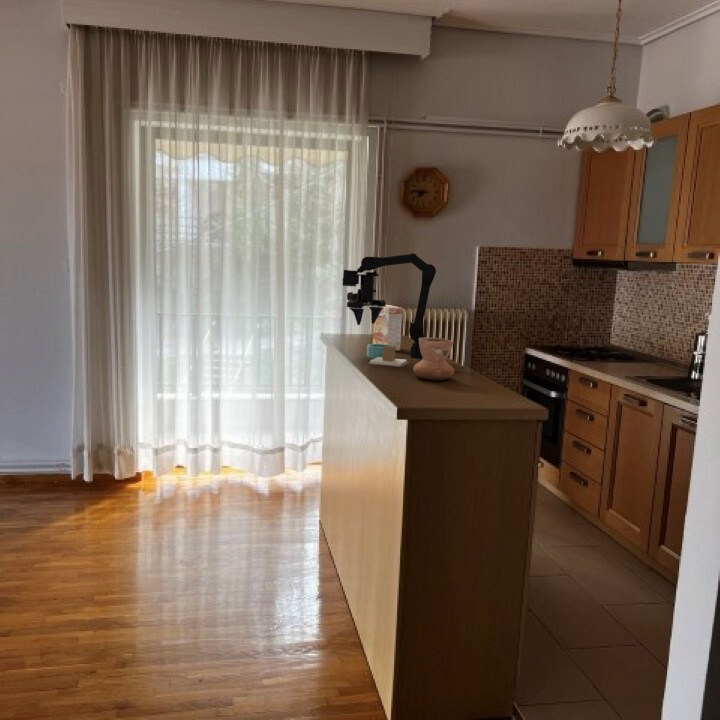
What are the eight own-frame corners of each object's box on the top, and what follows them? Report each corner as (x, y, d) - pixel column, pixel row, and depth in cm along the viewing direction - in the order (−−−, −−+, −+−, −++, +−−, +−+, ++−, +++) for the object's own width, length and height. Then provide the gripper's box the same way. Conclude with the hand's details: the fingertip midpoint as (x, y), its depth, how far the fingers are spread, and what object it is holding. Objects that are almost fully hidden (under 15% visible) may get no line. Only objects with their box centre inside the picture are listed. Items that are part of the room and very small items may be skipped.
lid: (406, 362, 284) (407, 346, 283) (399, 366, 272) (400, 349, 271) (377, 359, 287) (378, 343, 286) (369, 363, 276) (370, 346, 275)
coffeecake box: (372, 346, 330) (374, 304, 327) (385, 345, 333) (387, 304, 330) (386, 350, 317) (389, 307, 314) (400, 350, 320) (403, 307, 317)
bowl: (396, 357, 299) (396, 345, 298) (389, 360, 288) (390, 348, 288) (371, 354, 302) (371, 343, 301) (363, 358, 291) (364, 346, 290)
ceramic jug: (457, 384, 243) (460, 342, 241) (415, 381, 243) (418, 340, 241) (448, 375, 261) (451, 337, 259) (409, 373, 260) (412, 335, 259)
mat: (409, 362, 285) (409, 362, 285) (401, 367, 271) (401, 366, 271) (375, 359, 288) (376, 358, 288) (366, 364, 275) (366, 363, 275)
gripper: (367, 285, 307) (365, 321, 309) (337, 286, 293) (336, 323, 295) (387, 287, 299) (385, 323, 302) (357, 287, 286) (356, 326, 288)
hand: (365, 324), depth 297 cm, fingers open, 9 cm apart
